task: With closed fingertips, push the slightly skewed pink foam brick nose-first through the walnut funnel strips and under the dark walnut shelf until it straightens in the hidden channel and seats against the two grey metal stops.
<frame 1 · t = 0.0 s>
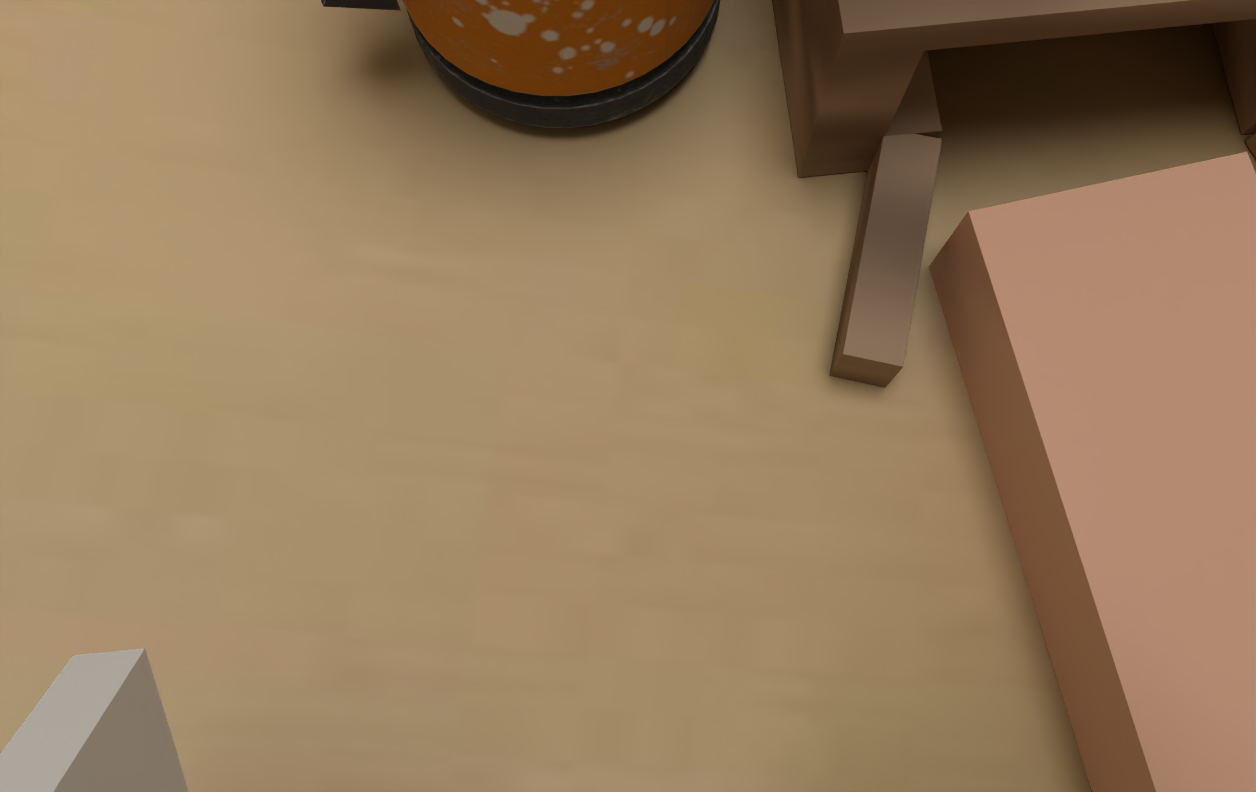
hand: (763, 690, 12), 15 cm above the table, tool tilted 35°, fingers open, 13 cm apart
canister: (533, 17, 31), on the table
pink foam brick: (1130, 488, 28), on the table
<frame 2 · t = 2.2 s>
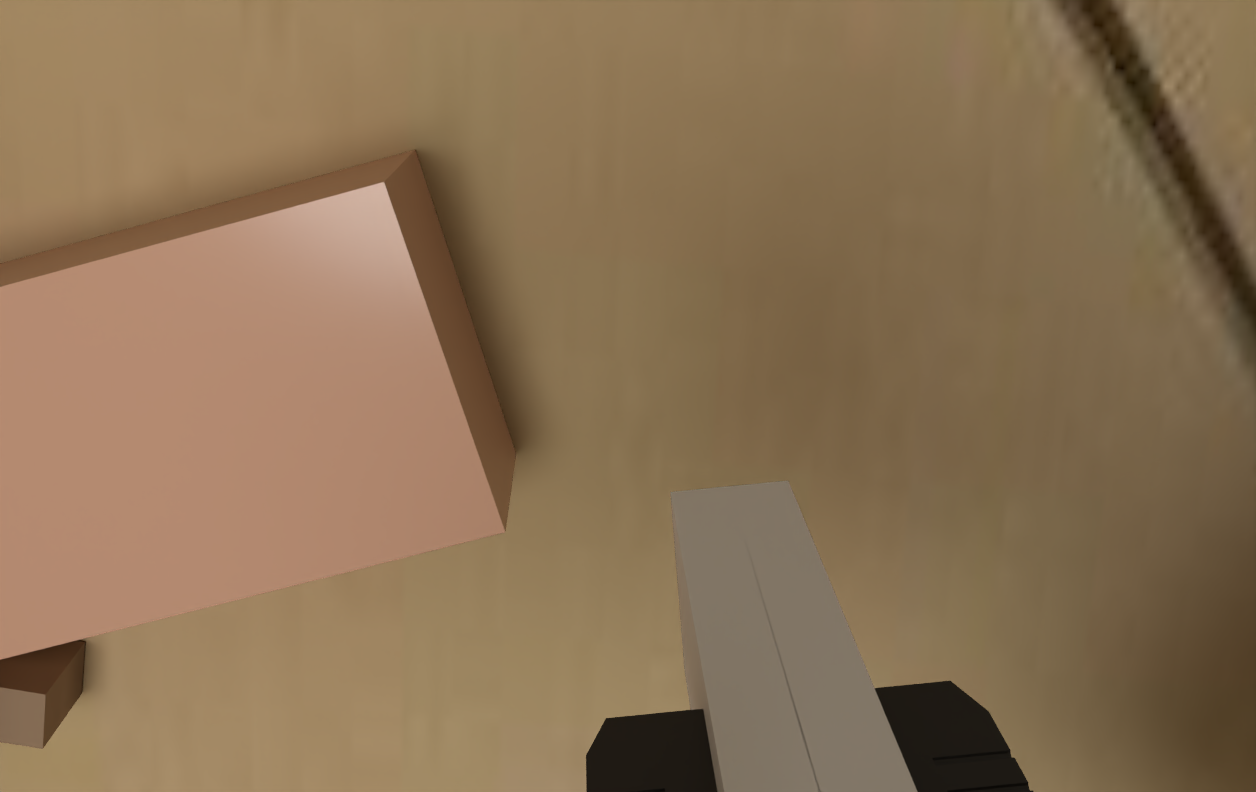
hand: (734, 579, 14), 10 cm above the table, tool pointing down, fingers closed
pink foam brick: (165, 386, 23), on the table
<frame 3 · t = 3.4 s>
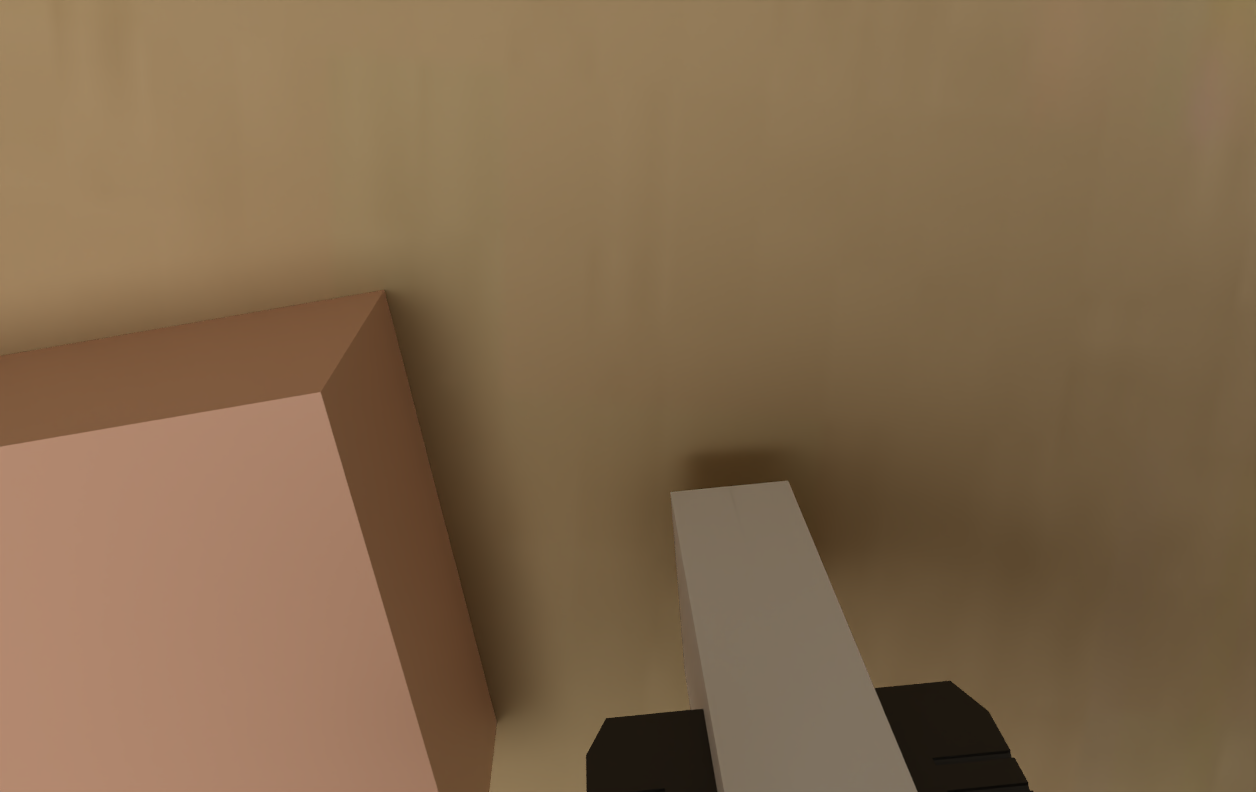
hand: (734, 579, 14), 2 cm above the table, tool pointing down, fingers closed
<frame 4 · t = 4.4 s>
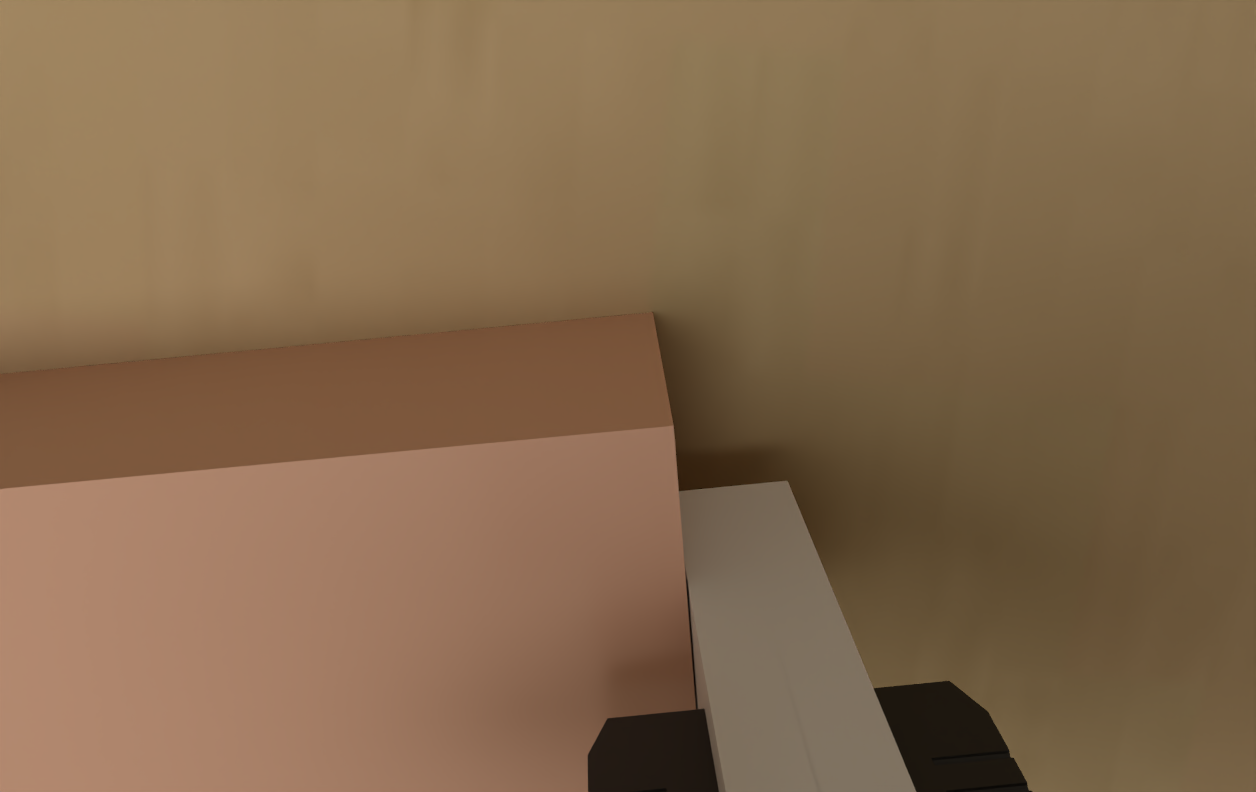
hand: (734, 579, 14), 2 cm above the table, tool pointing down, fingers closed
pink foam brick: (196, 582, 16), on the table
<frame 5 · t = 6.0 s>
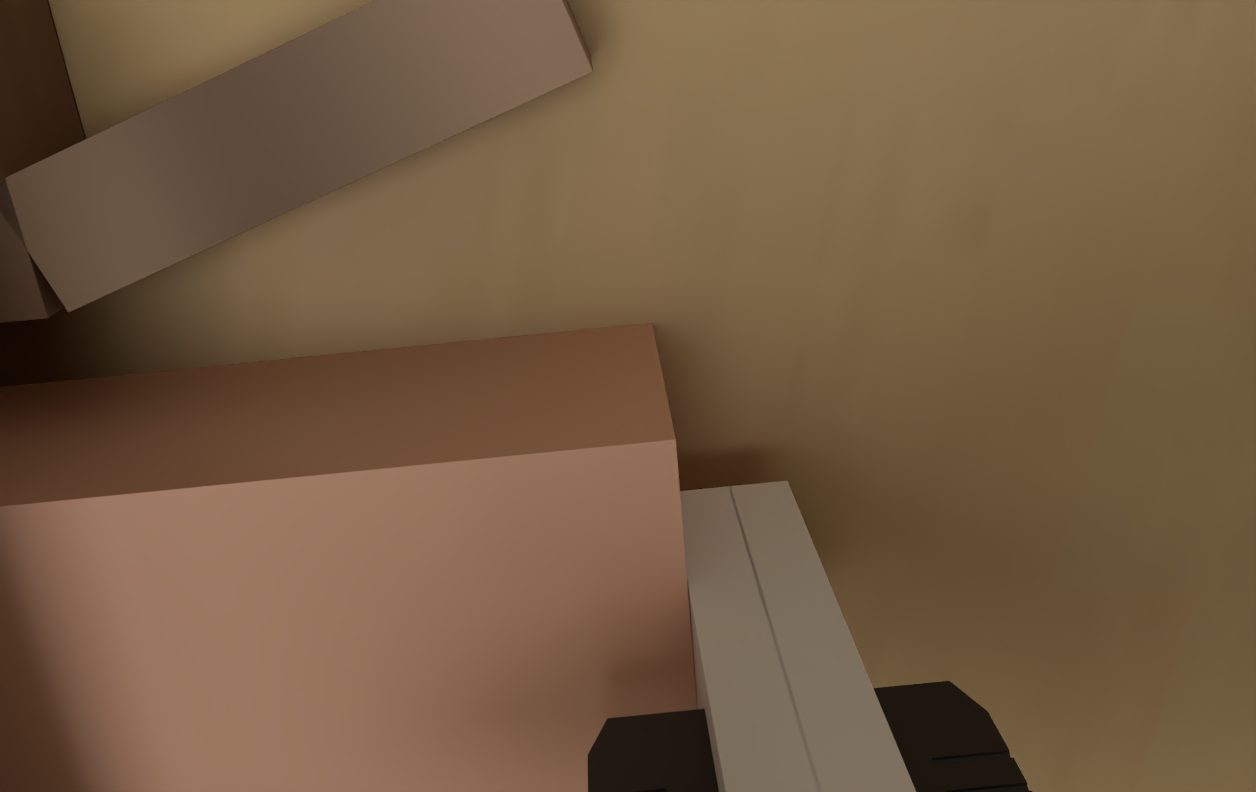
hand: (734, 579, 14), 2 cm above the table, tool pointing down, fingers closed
pink foam brick: (195, 592, 16), on the table
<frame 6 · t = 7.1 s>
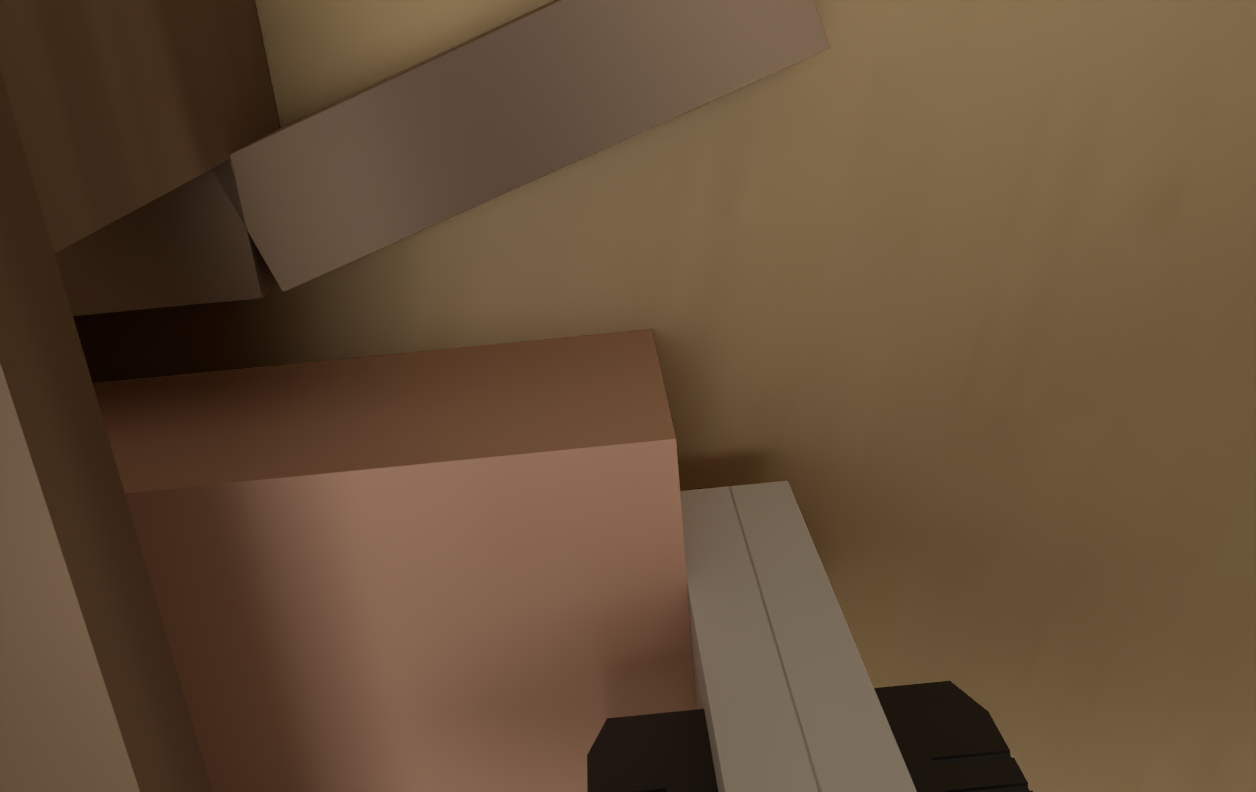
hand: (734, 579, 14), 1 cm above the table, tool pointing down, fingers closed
pink foam brick: (194, 592, 16), on the table, touching gripper
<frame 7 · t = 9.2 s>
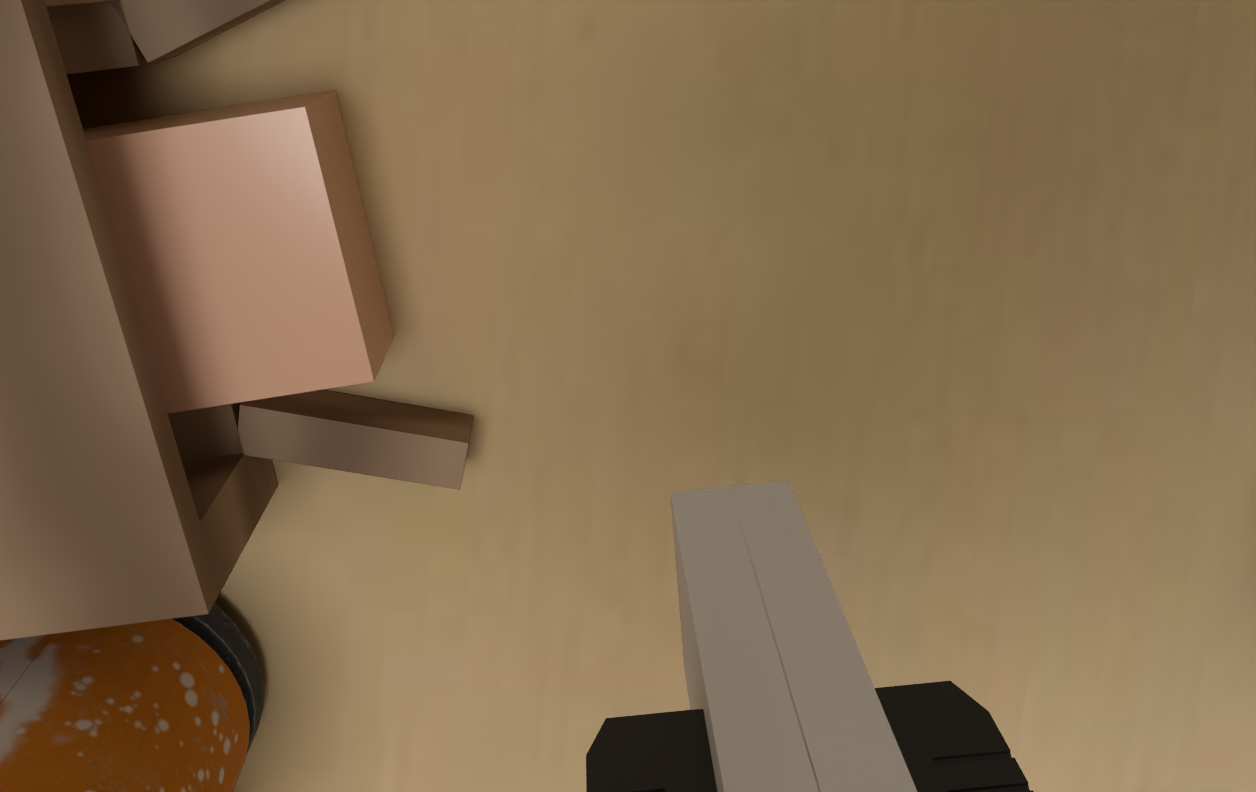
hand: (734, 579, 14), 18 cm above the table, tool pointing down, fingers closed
canister: (148, 692, 35), on the table
pink foam brick: (122, 253, 30), on the table
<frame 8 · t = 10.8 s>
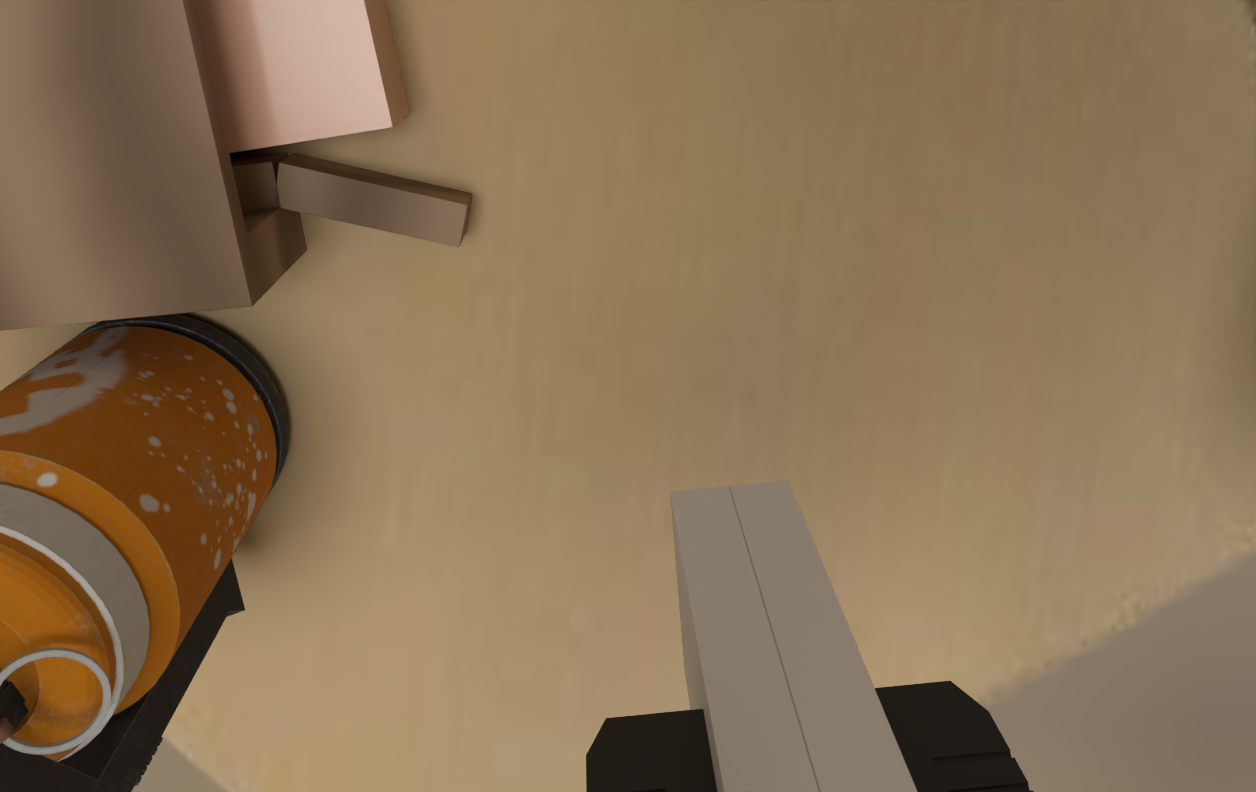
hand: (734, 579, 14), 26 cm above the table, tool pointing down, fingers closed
shelf: (20, 39, 36), on the table
canister: (189, 439, 41), on the table
pink foam brick: (185, 39, 36), on the table
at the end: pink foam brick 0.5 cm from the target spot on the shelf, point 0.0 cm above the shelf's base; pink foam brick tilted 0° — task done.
